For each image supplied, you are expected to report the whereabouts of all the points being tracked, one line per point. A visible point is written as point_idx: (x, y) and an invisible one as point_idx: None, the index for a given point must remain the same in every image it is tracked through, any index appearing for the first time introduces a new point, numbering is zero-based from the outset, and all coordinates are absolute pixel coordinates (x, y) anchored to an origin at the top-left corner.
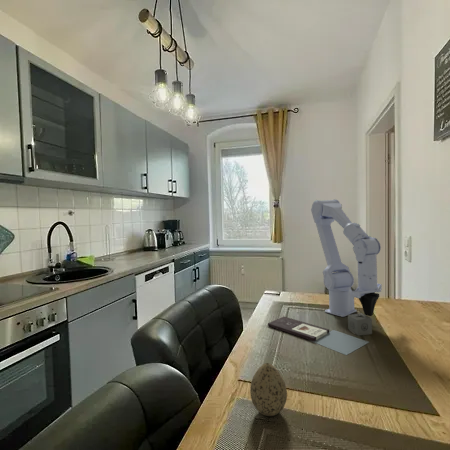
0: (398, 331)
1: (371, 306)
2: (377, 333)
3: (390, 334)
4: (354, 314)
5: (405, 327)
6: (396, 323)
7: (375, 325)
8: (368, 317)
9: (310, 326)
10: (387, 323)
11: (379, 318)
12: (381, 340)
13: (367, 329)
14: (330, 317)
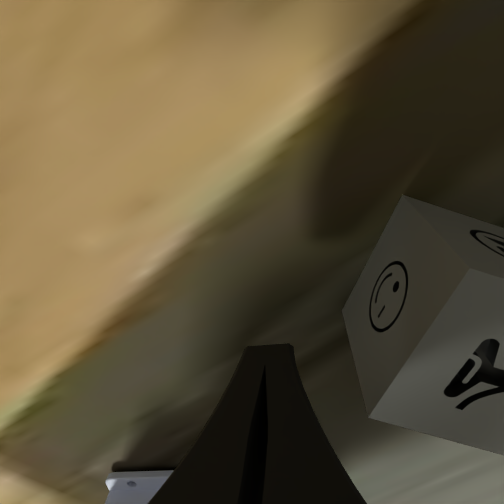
0: (145, 87)
1: (317, 440)
2: (355, 172)
3: (279, 86)
4: (473, 434)
5: (3, 110)
6: (11, 213)
7: (207, 281)
8: (461, 308)
9: None
10: (83, 254)
11: (61, 339)
12: (499, 39)
13: (465, 227)
14: None
